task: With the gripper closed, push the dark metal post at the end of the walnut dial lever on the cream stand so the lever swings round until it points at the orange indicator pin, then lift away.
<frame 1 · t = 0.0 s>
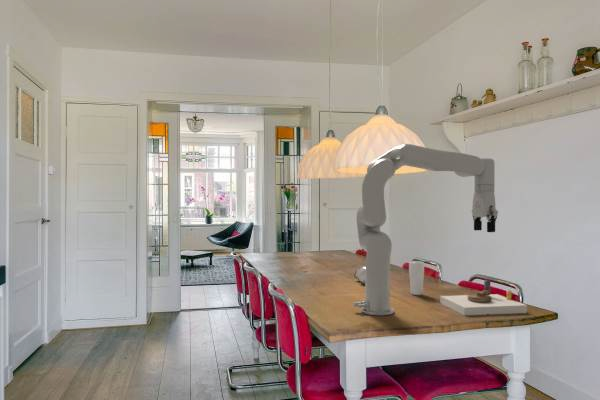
hand: (484, 231, 182), 31 cm above the table, fingers open, 9 cm apart
stand: (481, 307, 182), on the table
drinking glass: (416, 294, 207), on the table
potion bottle: (364, 283, 234), on the table
dial: (482, 290, 184), point 7 cm above the table, hinge at 40.0°
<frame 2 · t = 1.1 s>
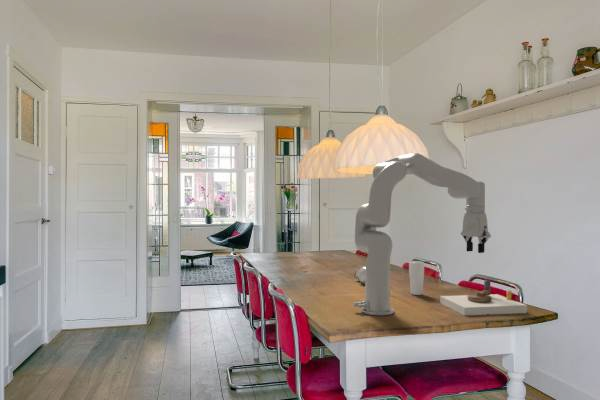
hand: (475, 251, 193), 21 cm above the table, fingers open, 5 cm apart
nothing on the table moved.
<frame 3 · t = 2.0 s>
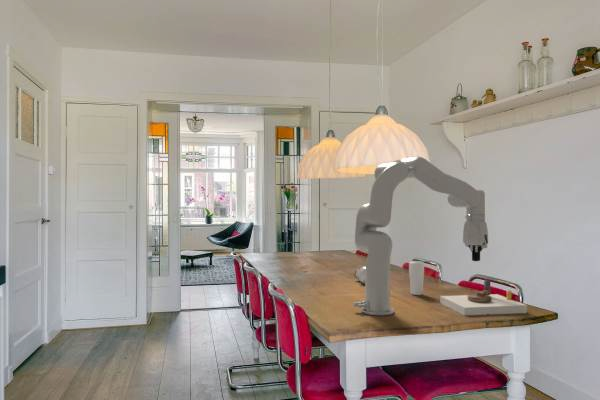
hand: (476, 260, 194), 17 cm above the table, fingers closed
nothing on the table moved.
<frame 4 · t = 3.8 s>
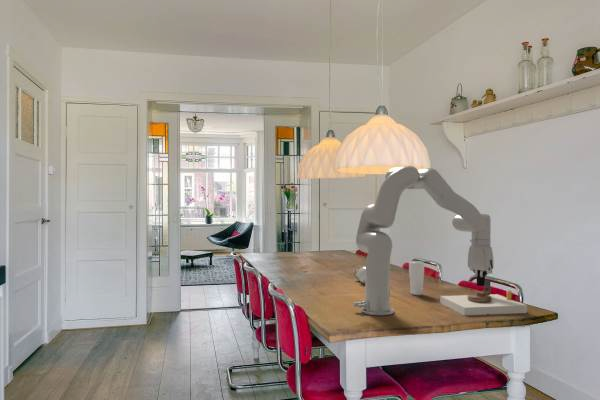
hand: (480, 285, 191), 7 cm above the table, fingers closed
dial: (482, 290, 184), point 7 cm above the table, hinge at 39.9°, touching gripper
everything else where it was.
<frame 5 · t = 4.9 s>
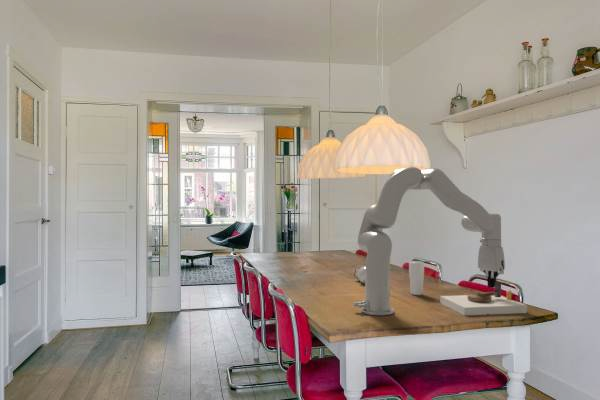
hand: (491, 286, 187), 7 cm above the table, fingers closed
dial: (485, 291, 182), point 7 cm above the table, hinge at 8.6°, touching gripper
everything else where it was.
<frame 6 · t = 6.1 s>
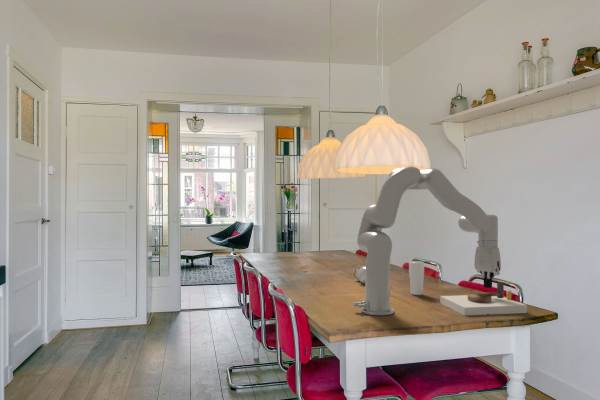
hand: (487, 287, 188), 7 cm above the table, fingers closed
dial: (486, 291, 182), point 7 cm above the table, hinge at -1.8°
everything else where it was.
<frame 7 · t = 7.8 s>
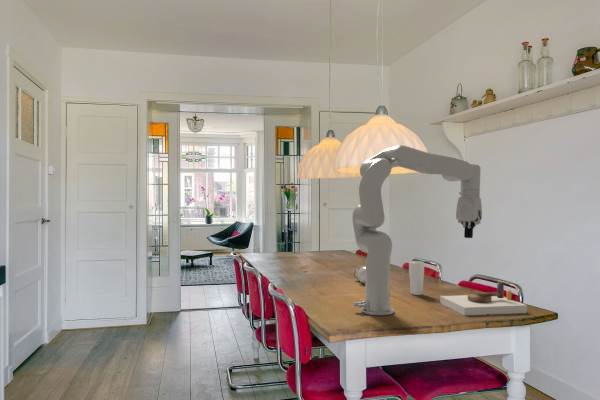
hand: (468, 237, 187), 28 cm above the table, fingers closed
nothing on the table moved.
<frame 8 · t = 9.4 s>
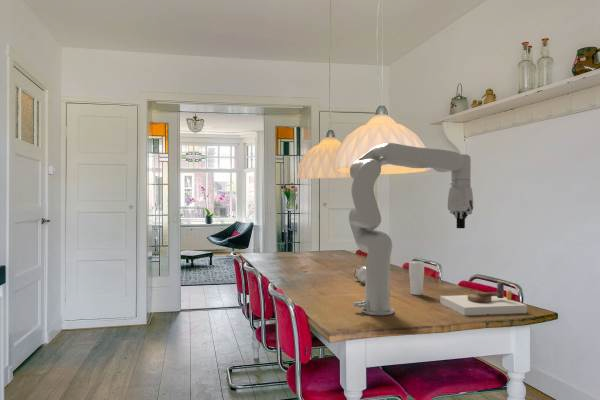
hand: (460, 228, 186), 32 cm above the table, fingers closed
nothing on the table moved.
at the end: dial at -2° (first picture: +40°); drinking glass tilted 0° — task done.
